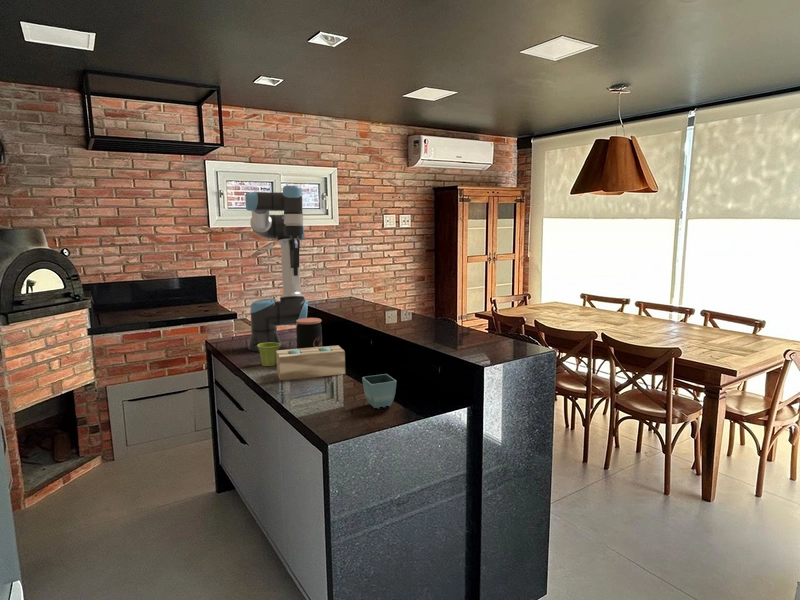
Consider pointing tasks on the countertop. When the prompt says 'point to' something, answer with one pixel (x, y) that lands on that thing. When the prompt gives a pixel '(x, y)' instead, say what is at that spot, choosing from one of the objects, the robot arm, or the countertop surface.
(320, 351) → the peg
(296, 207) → the robot arm
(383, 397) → the flower pot
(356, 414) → the countertop surface
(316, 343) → the coffee jar
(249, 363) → the countertop surface
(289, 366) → the socket block
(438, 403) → the countertop surface
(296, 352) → the peg
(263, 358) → the plant pot
